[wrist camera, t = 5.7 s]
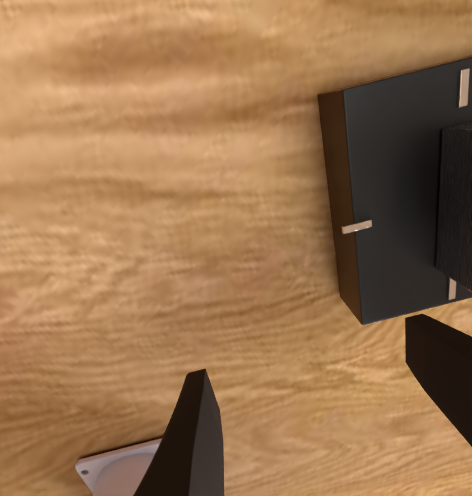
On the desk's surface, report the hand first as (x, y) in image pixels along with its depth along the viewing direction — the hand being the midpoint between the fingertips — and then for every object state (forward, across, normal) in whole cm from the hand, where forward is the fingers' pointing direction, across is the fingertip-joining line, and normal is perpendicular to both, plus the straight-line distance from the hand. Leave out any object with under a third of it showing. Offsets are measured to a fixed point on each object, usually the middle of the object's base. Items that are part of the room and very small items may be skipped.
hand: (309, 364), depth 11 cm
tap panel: (+8, -9, -2) cm, 13 cm away
